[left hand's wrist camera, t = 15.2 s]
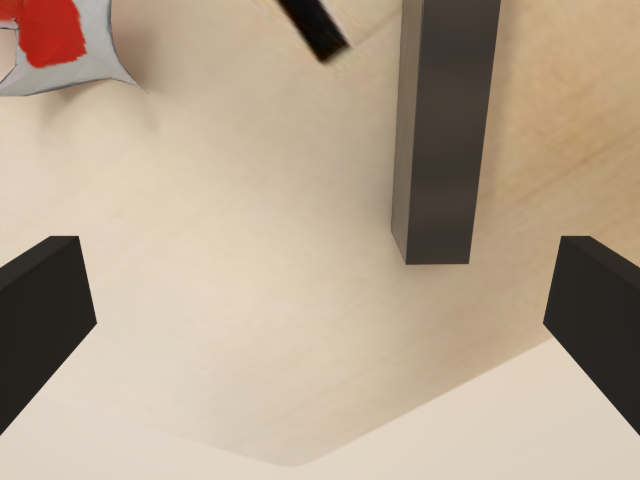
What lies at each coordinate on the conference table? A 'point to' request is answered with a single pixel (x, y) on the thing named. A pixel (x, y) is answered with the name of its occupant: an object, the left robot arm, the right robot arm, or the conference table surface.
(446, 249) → the metal bar
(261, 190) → the conference table surface
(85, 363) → the conference table surface
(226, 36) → the conference table surface
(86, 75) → the white red curved piece
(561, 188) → the conference table surface
